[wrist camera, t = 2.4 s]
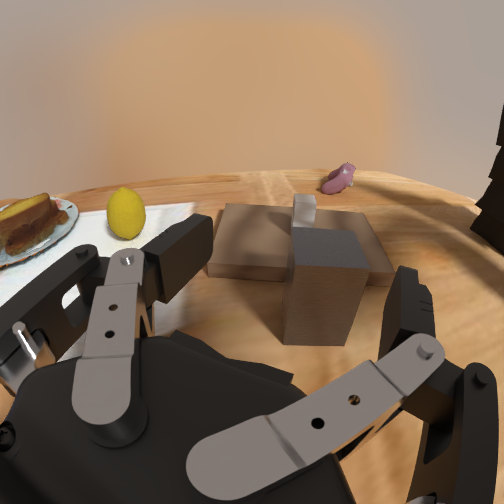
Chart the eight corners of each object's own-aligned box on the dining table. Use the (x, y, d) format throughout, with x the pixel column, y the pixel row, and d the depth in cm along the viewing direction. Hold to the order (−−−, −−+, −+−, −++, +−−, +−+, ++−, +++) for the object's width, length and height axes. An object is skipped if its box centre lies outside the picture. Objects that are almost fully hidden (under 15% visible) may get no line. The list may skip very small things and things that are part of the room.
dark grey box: (282, 302, 32) (291, 226, 27) (335, 304, 32) (354, 231, 27) (283, 344, 27) (295, 264, 22) (344, 345, 27) (370, 268, 22)
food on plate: (28, 203, 54) (22, 176, 50) (106, 210, 50) (100, 176, 46) (-52, 264, 33) (-64, 233, 29) (7, 298, 29) (-12, 256, 25)
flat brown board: (361, 224, 48) (369, 184, 44) (390, 286, 34) (407, 236, 30) (226, 214, 48) (226, 173, 44) (208, 276, 35) (205, 222, 31)
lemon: (136, 226, 45) (129, 177, 40) (156, 238, 42) (149, 185, 37) (106, 240, 41) (95, 189, 36) (124, 254, 38) (113, 199, 34)
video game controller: (337, 205, 57) (358, 178, 53) (318, 191, 57) (338, 163, 53) (343, 189, 65) (361, 166, 61) (326, 177, 65) (344, 153, 61)
